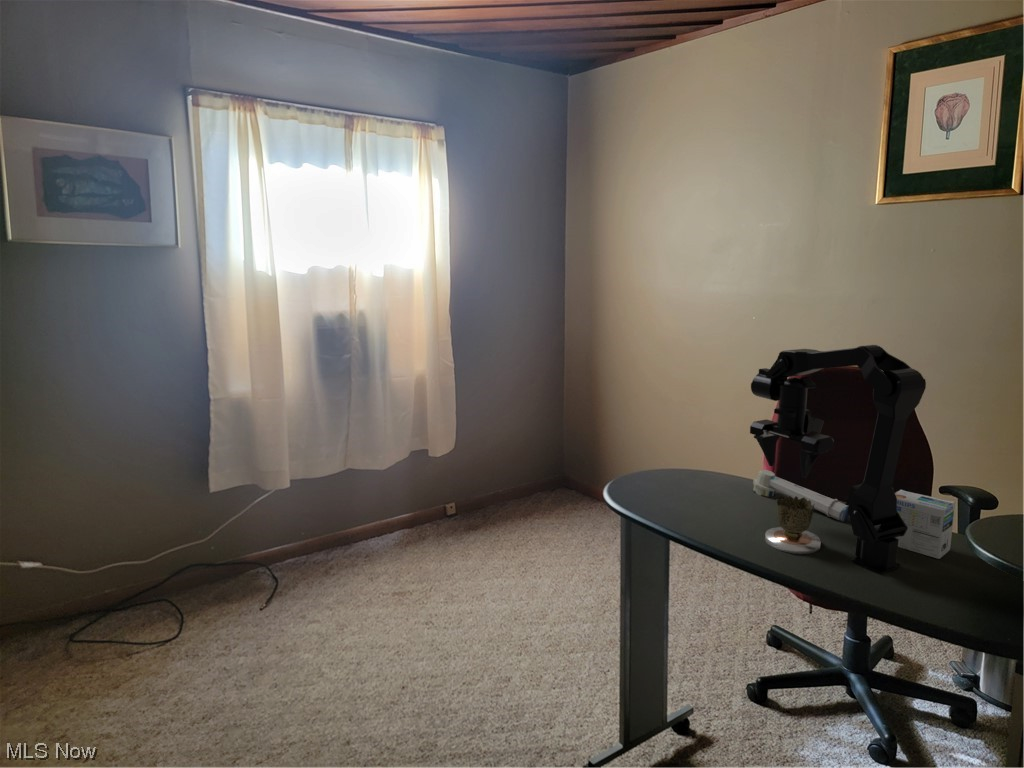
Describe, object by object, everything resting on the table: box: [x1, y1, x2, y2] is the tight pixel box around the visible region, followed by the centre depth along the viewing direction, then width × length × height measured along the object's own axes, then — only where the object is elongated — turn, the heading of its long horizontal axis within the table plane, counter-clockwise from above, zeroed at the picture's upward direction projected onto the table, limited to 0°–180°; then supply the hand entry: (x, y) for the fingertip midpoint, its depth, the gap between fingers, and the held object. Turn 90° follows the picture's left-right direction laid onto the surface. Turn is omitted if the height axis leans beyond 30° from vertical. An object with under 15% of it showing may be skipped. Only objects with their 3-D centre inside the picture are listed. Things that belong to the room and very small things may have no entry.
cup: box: [776, 495, 815, 539], centre depth 142 cm, size 8×7×8 cm
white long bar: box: [752, 469, 850, 523], centre depth 164 cm, size 5×7×25 cm
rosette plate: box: [764, 526, 821, 555], centre depth 143 cm, size 11×11×1 cm
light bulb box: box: [895, 489, 956, 560], centre depth 139 cm, size 11×7×11 cm, turn 41°
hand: (787, 471), depth 152 cm, fingers open, 9 cm apart
